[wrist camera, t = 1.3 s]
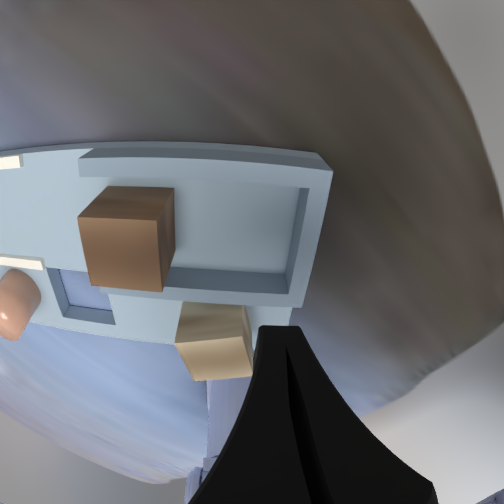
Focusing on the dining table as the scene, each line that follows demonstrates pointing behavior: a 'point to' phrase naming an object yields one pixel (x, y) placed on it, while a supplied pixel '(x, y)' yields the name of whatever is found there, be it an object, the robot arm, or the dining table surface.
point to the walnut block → (129, 237)
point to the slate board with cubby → (186, 228)
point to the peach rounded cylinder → (17, 303)
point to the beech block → (215, 340)
